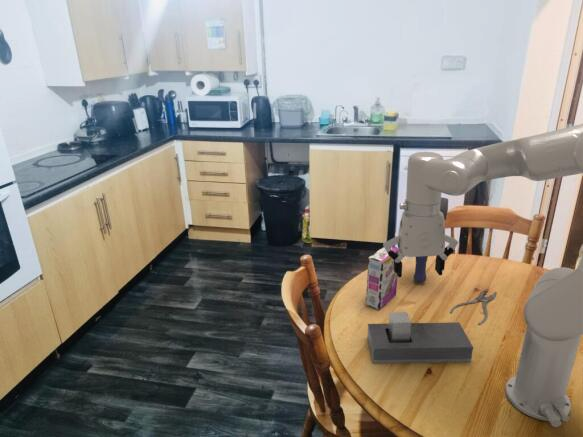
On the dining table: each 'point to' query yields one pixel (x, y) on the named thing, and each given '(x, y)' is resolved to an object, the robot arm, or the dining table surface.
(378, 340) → the rectangular block
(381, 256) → the candy bar box
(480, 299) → the pliers
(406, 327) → the steel peg
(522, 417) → the dining table surface
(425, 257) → the rubber mallet
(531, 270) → the dining table surface
